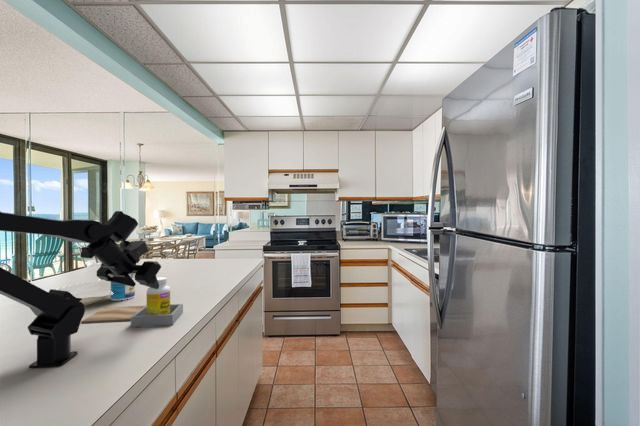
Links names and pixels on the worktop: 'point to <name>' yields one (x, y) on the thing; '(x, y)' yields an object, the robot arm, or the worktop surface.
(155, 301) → the supplement bottle
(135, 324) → the bin
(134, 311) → the tan cardboard sheet
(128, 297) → the beverage bottle
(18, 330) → the worktop surface
